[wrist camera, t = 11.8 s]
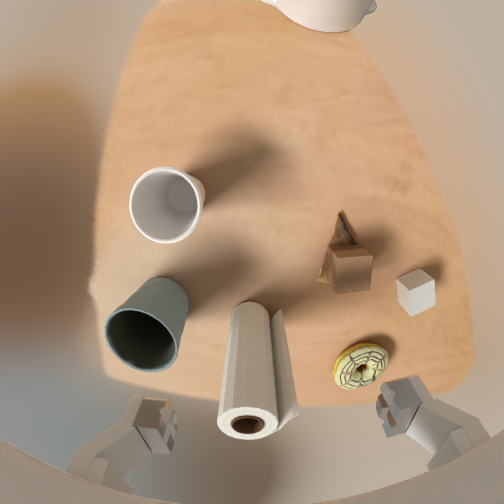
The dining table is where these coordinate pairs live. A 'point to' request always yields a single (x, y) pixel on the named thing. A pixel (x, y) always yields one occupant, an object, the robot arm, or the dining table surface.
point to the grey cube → (416, 291)
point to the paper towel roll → (256, 375)
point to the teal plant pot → (149, 325)
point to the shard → (338, 238)
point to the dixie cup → (166, 204)
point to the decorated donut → (354, 357)
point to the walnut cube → (349, 268)
